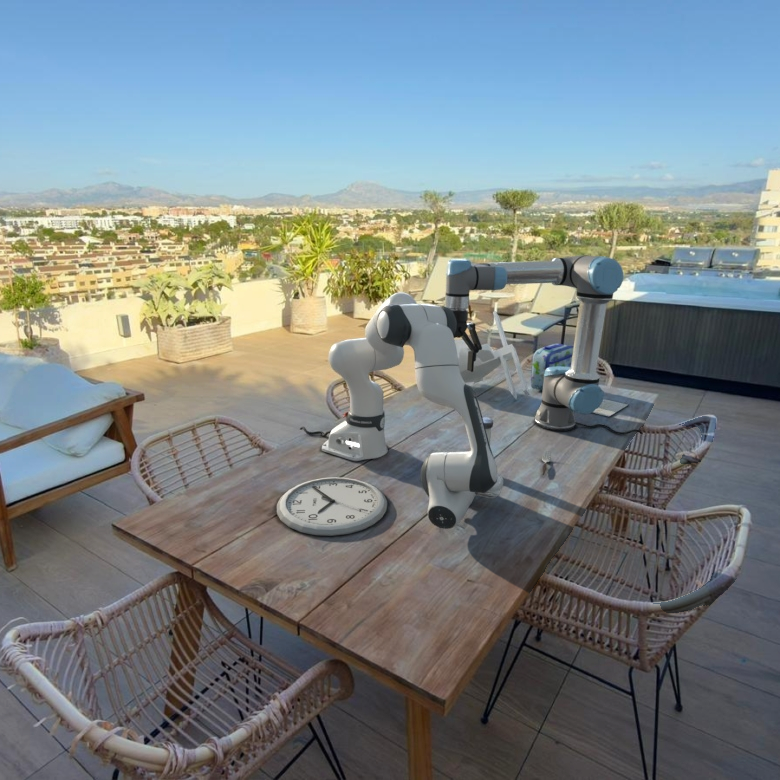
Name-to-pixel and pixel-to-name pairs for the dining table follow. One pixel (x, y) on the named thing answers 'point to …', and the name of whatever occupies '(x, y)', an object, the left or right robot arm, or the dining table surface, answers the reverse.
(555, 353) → the lunch box
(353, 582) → the dining table surface
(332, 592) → the dining table surface
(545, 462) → the fork
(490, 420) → the lid
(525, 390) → the white plastic object
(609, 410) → the invitation card
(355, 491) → the wall clock
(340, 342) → the left robot arm
